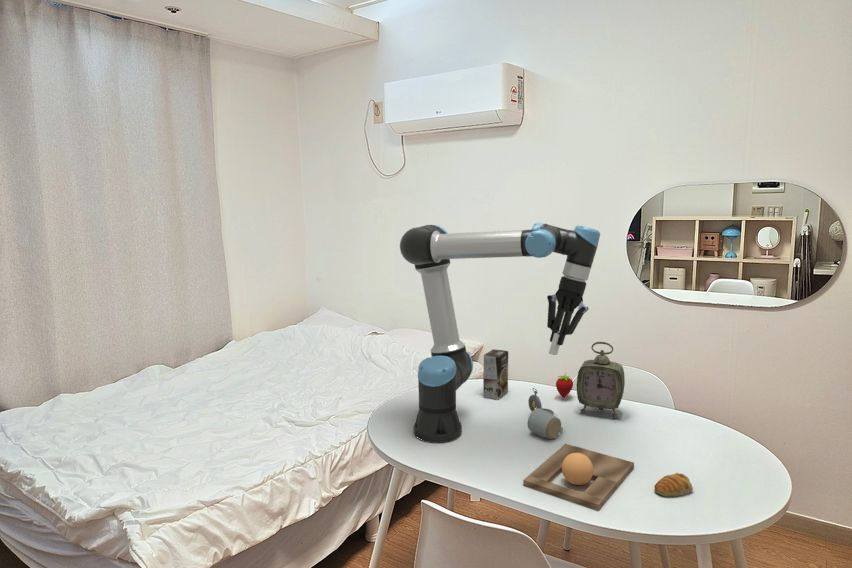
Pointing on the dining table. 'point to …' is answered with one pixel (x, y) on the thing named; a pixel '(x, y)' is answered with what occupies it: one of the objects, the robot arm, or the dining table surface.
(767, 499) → the dining table surface
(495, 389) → the coffee box
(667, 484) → the pastry
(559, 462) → the hole board
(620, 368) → the tabletop clock
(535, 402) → the pocket watch
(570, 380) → the strawberry
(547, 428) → the ceramic mug
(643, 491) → the dining table surface
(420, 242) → the robot arm
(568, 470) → the ball
